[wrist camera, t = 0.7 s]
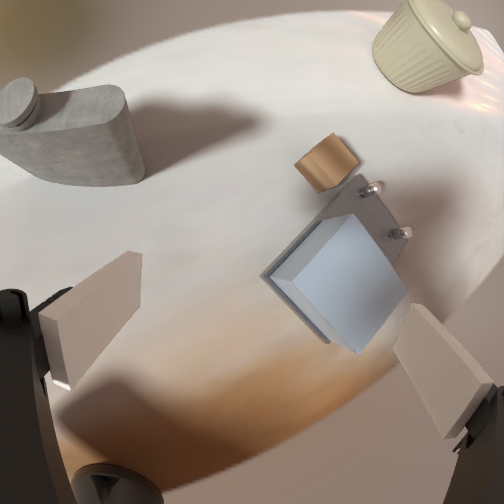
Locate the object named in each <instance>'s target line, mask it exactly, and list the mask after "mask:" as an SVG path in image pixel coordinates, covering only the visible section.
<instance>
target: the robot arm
mask: <svg viewBox="0 0 504 504" xmlns="http://www.w3.org/2000/svg"><path fill="white" fill-rule="evenodd" d="M141 268H142V254H140V253H136V252H131V251H127V252H125V253H124V254H122V255H121V256H119V257H118V258H116V259H115V260H113V261H112V262H110V263H109V264H107V265H106V266H104V267H103V268H101V269H100V270H98V271H97V272H95V273H94V274H92V275H91V276H89V277H88V278H86V279H85V280H84V281H82V282H81V283H79V284H78V285H76V286H75V287H68V288H65V289H62V290H60V291H58V292H57V293H55V294H54V295H52V297H50V298H48V299H47V300H46V302H45V301H44V302H42V303H41V304H40V305H38V306H37V307H35V308H34V309H33V310H31V311H30V312H29V306H28V300H27V295H26V293H25V292H23V291H22V290H18V289H5V290H1V291H0V504H164V500H163V497H162V494H161V493H160V491H159V490H158V488H157V487H156V486H155V485H154V484H153V483H151V482H150V481H149V480H147V479H146V478H144V477H143V476H141V475H139V474H137V473H135V472H133V471H130V470H127V469H125V468H121V467H117V466H113V465H106V464H94V465H88V466H85V467H82V468H80V469H79V470H78V471H77V472H76V473H75V474H74V476H73V479H72V482H71V485H70V482H69V479H68V476H67V473H66V470H65V467H64V463H63V460H62V457H61V453H60V449H59V446H58V442H57V438H56V434H55V429H54V425H53V420H52V415H51V410H50V405H49V399H48V393H47V387H46V382H45V378H44V376H45V375H46V374H47V372H48V371H49V370H50V372H51V376H52V380H53V383H55V384H57V385H59V386H61V387H64V388H66V389H68V390H70V391H71V390H72V389H73V388H74V386H75V385H76V384H77V382H78V381H79V380H80V379H81V377H82V376H83V375H84V374H85V372H86V371H87V370H88V369H89V367H90V366H91V365H92V364H93V362H94V361H95V360H96V359H97V357H98V356H99V355H100V354H101V353H102V351H103V350H104V349H105V348H106V346H107V345H108V344H109V343H110V342H111V340H112V339H113V338H114V337H115V336H116V334H117V333H118V332H119V331H120V330H121V328H122V327H123V326H124V325H125V324H126V322H127V321H128V320H129V319H130V318H131V317H132V315H133V314H134V313H135V312H136V311H137V310H138V308H139V307H140V291H141ZM392 350H393V352H394V353H395V355H396V357H397V358H398V360H399V362H400V363H401V365H402V366H403V368H404V370H405V372H406V373H407V375H408V377H409V378H410V380H411V382H412V384H413V386H414V387H415V389H416V391H417V393H418V394H419V396H420V398H421V400H422V402H423V403H424V405H425V407H426V409H427V411H428V413H429V414H430V416H431V418H432V420H433V422H434V424H435V426H436V428H437V430H438V431H439V433H440V435H441V437H442V439H449V438H455V437H457V435H458V434H459V433H460V432H461V430H462V429H463V428H464V426H465V427H466V428H467V430H468V432H467V433H466V435H465V436H464V437H463V438H462V440H461V441H460V442H459V443H458V444H457V446H456V447H455V448H454V450H453V452H455V451H456V450H457V449H459V448H460V451H459V452H458V453H457V454H459V456H458V460H457V463H456V466H455V470H454V473H453V476H452V479H451V483H450V486H449V488H448V491H447V494H446V497H445V499H444V502H443V504H504V386H500V387H499V388H497V387H496V385H495V384H494V382H493V381H492V379H491V378H490V377H489V376H488V375H487V373H486V372H485V371H484V370H483V369H482V368H481V366H480V365H479V364H478V363H477V362H476V361H475V360H474V359H473V357H472V356H471V355H470V354H469V353H468V352H467V351H466V350H465V348H464V347H463V346H462V345H461V344H460V343H459V342H458V341H457V340H456V339H455V338H454V337H453V335H452V334H451V333H450V332H449V331H448V330H447V329H446V328H445V327H444V326H443V325H442V324H441V323H440V322H439V321H438V320H437V319H436V318H435V317H434V316H433V315H432V314H431V312H430V311H429V310H428V309H427V308H426V307H425V306H424V305H422V304H415V303H411V304H410V307H409V310H408V312H407V315H406V317H405V320H404V322H403V325H402V327H401V330H400V332H399V334H398V337H397V339H396V341H395V344H394V346H393V348H392Z"/></svg>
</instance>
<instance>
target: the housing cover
mask: <svg viewBox="0 0 504 504" xmlns="http://www.w3.org/2000/svg"><path fill="white" fill-rule="evenodd" d="M270 278H271V279H272V280H273V281H274V282H275V283H276V285H277V286H278V287H279V288H280V289H281V290H282V291H283V292H284V293H285V294H286V295H287V296H288V297H289V298H290V299H291V300H292V301H293V302H294V304H295V305H296V306H297V307H298V308H299V309H300V310H301V311H302V312H303V313H304V314H305V315H306V316H307V317H308V318H309V319H310V320H311V321H312V323H313V324H314V325H315V326H316V327H317V328H318V329H319V330H320V331H321V332H322V333H323V334H324V335H325V336H326V337H327V338H328V339H329V340H330V341H332V342H334V343H336V344H338V345H340V346H342V347H344V348H346V349H348V350H350V351H352V352H354V353H356V354H358V355H359V354H360V352H361V351H362V350H363V349H364V348H365V346H366V345H367V344H368V343H369V341H370V340H371V339H372V338H373V336H374V335H375V334H376V333H377V331H378V330H379V329H380V327H381V326H382V325H383V323H384V322H385V321H386V319H387V318H388V317H389V315H390V314H391V313H392V311H393V310H394V309H395V307H396V306H397V304H398V303H399V302H400V300H401V299H402V297H403V296H404V294H405V293H406V292H407V290H408V289H407V287H406V286H405V284H404V283H403V281H402V280H401V278H400V277H399V275H398V274H397V272H396V271H395V269H394V268H393V267H392V265H391V264H390V262H389V261H388V259H387V258H386V257H385V255H384V254H383V252H382V251H381V250H380V248H379V247H378V245H377V244H376V243H375V241H374V240H373V239H372V237H371V236H370V235H369V233H368V232H367V231H366V229H365V228H364V227H363V225H362V224H361V223H360V221H359V220H358V219H357V218H356V216H355V215H354V214H353V213H352V214H347V215H343V216H339V217H334V218H330V219H326V220H323V221H322V222H321V223H320V224H319V225H318V226H317V227H316V228H315V229H314V230H313V231H312V232H311V233H310V235H309V236H308V237H307V238H306V239H305V240H304V241H303V242H302V243H301V244H300V245H299V246H298V247H297V248H296V249H295V250H294V252H293V253H292V254H291V255H290V256H289V257H288V258H287V259H286V260H285V261H284V262H283V263H282V264H281V265H280V266H279V267H278V268H277V269H276V270H275V271H274V272H273V273H272V275H271V276H270Z"/></svg>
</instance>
